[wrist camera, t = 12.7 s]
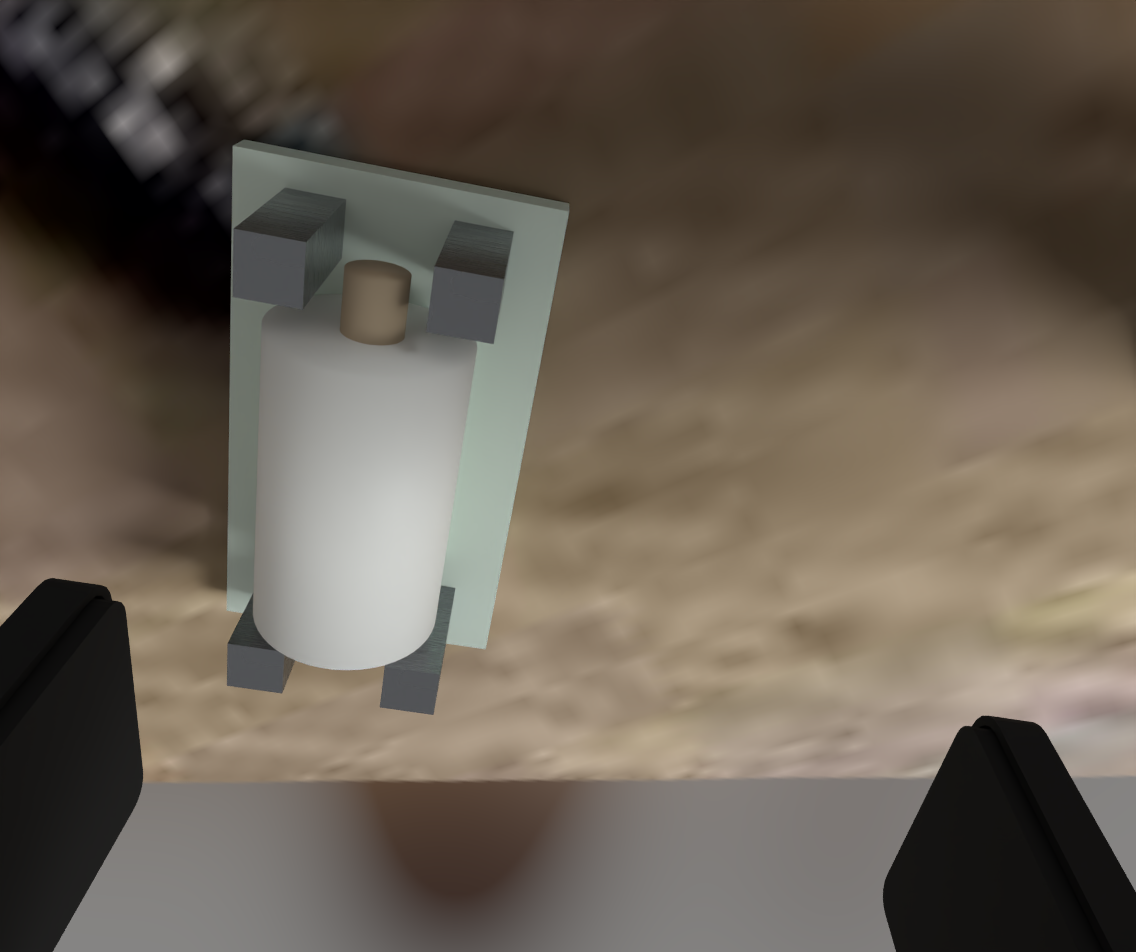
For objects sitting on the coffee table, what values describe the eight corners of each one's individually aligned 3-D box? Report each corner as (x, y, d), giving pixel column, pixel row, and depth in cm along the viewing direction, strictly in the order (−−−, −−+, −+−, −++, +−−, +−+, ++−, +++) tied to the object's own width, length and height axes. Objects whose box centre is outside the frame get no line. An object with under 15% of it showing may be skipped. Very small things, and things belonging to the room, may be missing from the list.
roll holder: (569, 203, 31) (569, 256, 26) (487, 631, 41) (474, 740, 35) (244, 139, 30) (169, 180, 25) (235, 593, 40) (180, 699, 34)
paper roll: (498, 262, 31) (469, 329, 25) (443, 613, 38) (410, 727, 32) (303, 222, 30) (228, 280, 25) (284, 583, 38) (223, 694, 32)
